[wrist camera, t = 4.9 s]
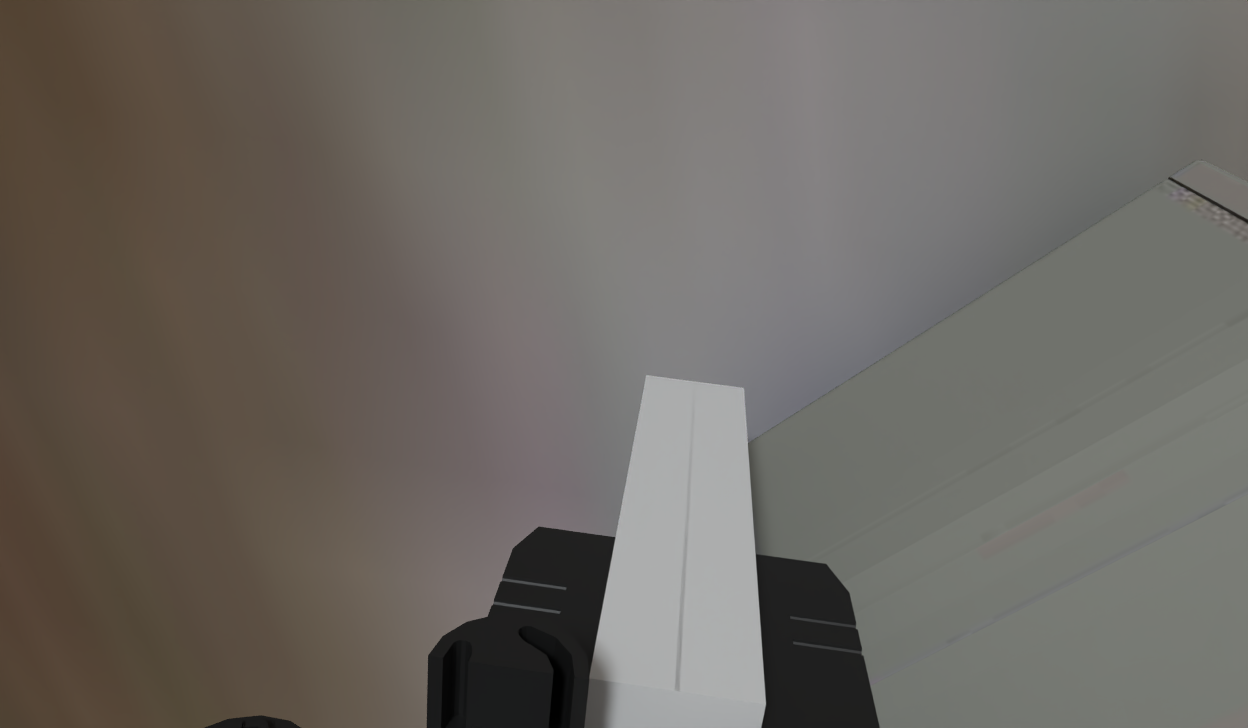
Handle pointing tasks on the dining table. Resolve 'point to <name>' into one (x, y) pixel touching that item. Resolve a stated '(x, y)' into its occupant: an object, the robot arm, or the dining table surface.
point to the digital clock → (1047, 485)
